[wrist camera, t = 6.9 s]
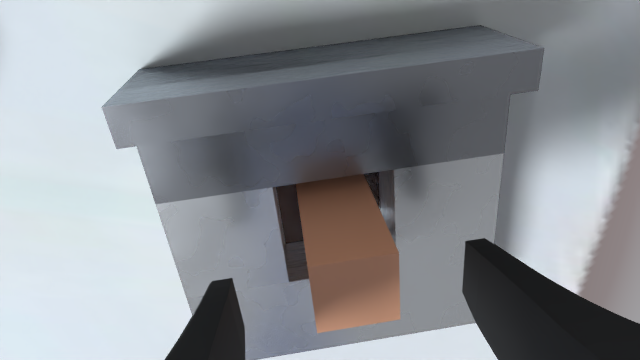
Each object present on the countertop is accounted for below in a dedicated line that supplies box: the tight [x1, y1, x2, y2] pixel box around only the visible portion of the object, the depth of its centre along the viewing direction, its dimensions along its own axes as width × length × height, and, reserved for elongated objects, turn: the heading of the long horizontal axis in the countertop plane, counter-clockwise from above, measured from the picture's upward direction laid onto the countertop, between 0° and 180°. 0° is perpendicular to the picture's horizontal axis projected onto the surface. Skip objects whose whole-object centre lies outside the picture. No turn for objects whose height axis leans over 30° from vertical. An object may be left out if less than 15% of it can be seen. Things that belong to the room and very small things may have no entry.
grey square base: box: [102, 25, 544, 360], centre depth 16 cm, size 12×12×4 cm
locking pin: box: [296, 174, 400, 333], centre depth 16 cm, size 3×3×6 cm
